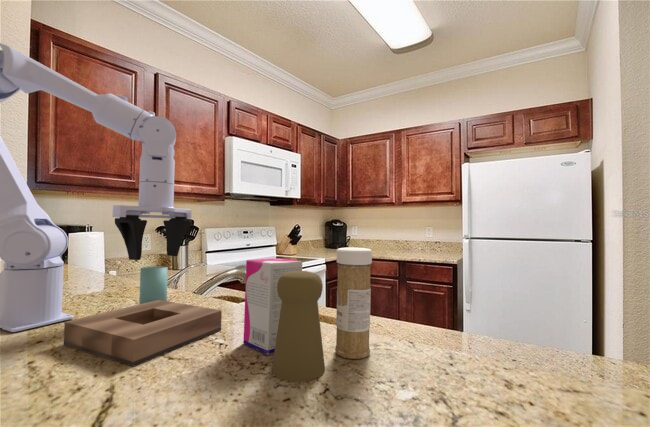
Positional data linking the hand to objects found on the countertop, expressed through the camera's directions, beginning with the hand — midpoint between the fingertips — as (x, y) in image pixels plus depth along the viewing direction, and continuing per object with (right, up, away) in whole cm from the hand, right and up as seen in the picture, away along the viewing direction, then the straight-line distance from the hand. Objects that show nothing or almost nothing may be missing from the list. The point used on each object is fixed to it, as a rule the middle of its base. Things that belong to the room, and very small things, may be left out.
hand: (154, 257), depth 59 cm
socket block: (+6, -10, -13) cm, 17 cm away
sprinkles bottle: (+35, -10, -18) cm, 40 cm away
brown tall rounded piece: (+28, -10, -22) cm, 37 cm away
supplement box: (+24, -10, -15) cm, 30 cm away
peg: (0, -10, 0) cm, 10 cm away
